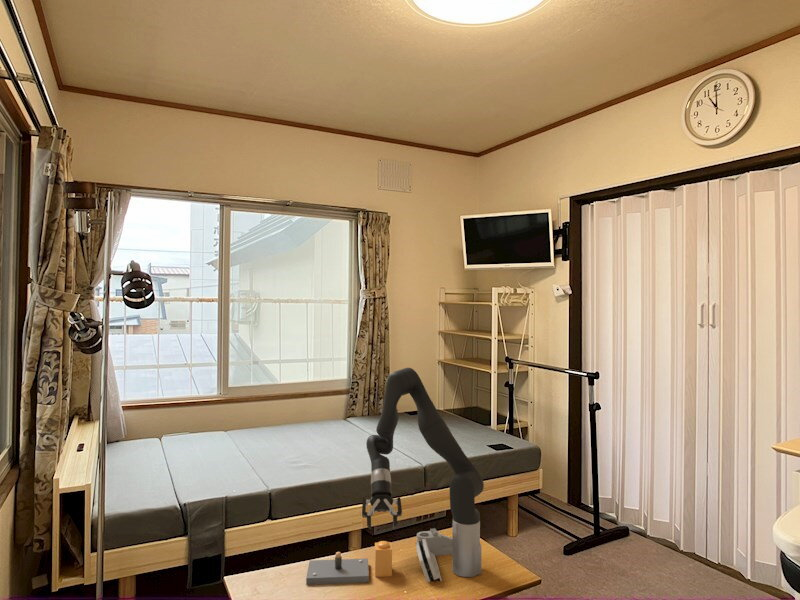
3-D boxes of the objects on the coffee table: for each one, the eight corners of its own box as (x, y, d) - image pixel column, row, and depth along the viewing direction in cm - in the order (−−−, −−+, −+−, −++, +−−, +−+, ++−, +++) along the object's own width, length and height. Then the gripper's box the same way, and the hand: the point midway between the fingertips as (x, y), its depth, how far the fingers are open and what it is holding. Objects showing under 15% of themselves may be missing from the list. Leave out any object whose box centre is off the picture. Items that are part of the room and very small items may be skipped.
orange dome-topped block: (390, 568, 182) (390, 539, 182) (391, 576, 176) (392, 547, 176) (374, 568, 181) (374, 540, 181) (375, 576, 176) (375, 547, 176)
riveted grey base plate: (367, 564, 184) (367, 543, 184) (368, 582, 172) (368, 560, 172) (309, 566, 183) (309, 545, 183) (306, 584, 171) (306, 562, 171)
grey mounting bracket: (467, 553, 193) (467, 531, 193) (418, 557, 190) (418, 535, 190) (462, 546, 199) (462, 525, 199) (415, 550, 195) (415, 528, 195)
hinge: (442, 581, 173) (432, 553, 173) (428, 587, 172) (418, 558, 172) (435, 557, 189) (426, 531, 189) (423, 562, 189) (413, 536, 189)
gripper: (362, 479, 195) (362, 523, 183) (400, 478, 196) (403, 522, 184) (361, 489, 200) (361, 532, 188) (399, 488, 201) (401, 531, 190)
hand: (382, 527), depth 186 cm, fingers open, 8 cm apart
